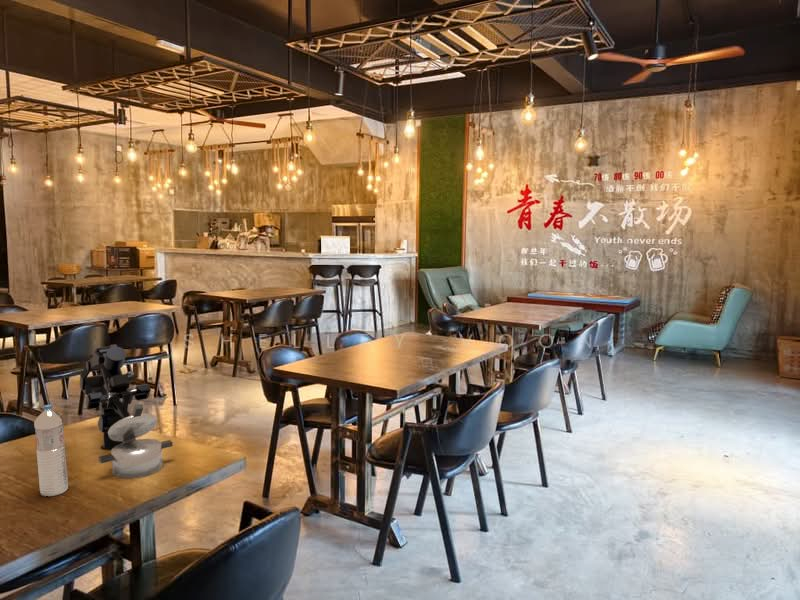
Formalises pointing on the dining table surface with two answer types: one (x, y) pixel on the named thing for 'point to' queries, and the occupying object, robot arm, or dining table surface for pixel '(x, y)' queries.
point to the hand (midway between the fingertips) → (125, 418)
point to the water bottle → (51, 453)
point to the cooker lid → (132, 425)
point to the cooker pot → (136, 457)
